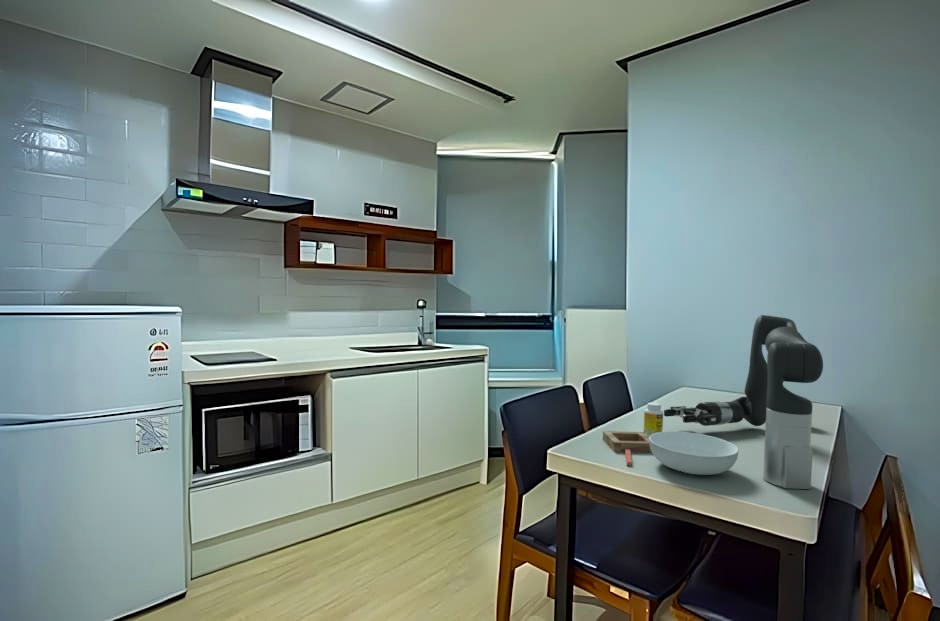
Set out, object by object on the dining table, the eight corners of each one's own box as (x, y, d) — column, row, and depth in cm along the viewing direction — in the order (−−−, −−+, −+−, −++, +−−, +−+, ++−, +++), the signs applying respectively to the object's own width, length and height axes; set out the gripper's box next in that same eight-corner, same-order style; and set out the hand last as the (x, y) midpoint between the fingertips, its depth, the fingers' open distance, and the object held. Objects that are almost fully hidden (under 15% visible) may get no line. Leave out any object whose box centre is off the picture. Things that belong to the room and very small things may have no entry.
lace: (631, 466, 130) (631, 462, 130) (626, 465, 130) (626, 461, 130) (629, 452, 142) (629, 449, 142) (625, 452, 142) (625, 448, 142)
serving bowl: (646, 475, 124) (647, 447, 124) (649, 452, 143) (650, 427, 143) (742, 490, 116) (744, 460, 116) (732, 462, 136) (733, 437, 135)
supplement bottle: (657, 439, 156) (658, 406, 155) (640, 435, 160) (641, 403, 159) (665, 436, 160) (666, 404, 159) (648, 432, 164) (649, 401, 163)
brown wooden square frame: (656, 452, 143) (657, 443, 143) (613, 451, 143) (614, 442, 142) (642, 440, 155) (642, 432, 155) (602, 439, 155) (603, 431, 154)
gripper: (697, 397, 174) (659, 399, 169) (732, 406, 161) (691, 409, 155) (696, 419, 174) (658, 422, 169) (731, 430, 161) (690, 433, 155)
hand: (674, 416), depth 162 cm, fingers open, 8 cm apart
